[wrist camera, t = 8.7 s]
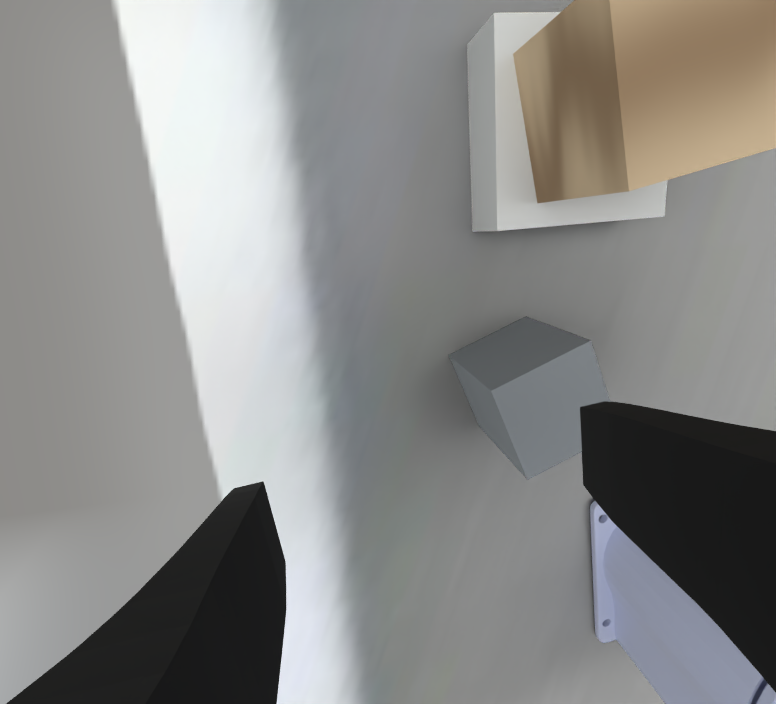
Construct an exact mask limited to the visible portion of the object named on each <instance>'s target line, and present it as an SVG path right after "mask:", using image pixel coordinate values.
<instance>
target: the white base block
mask: <svg viewBox="0 0 776 704" xmlns="http://www.w3.org/2000/svg"><path fill="white" fill-rule="evenodd" d="M559 13H561V12H519V13H493V15H492V16H491V17H490V18H489V19H488V21H487V22H486V23H485V24H484V25H483V26H482V28H481V29H480V30H479V31H478V32H477V34H476V35H475V36H474V37H473V38H472V40H471V41H470V42H469V43H468V44H467V64H468V99H469V133H470V167H471V201H472V232H478V231H503V230H515V229H526V228H538V227H549V226H561V225H572V224H584V223H595V222H607V221H618V220H630V219H641V218H653V217H664V216H665V205H666V193H667V180H666V181H662V182H659V183H655V184H652V185H649V186H645V187H642V188H638V189H635V190H632V191H627V192H620V193H612V194H605V195H597V196H589V197H582V198H574V199H567V200H559V201H551V202H544V203H537V198H536V192H535V186H534V180H533V173H532V167H531V161H530V155H529V149H528V143H527V137H526V131H525V124H524V118H523V112H522V106H521V100H520V94H519V88H518V82H517V75H516V69H515V63H514V57H513V54H514V53H515V52H516V51H517V50H518V49H519V48H520V47H522V46H523V45H524V44H525V43H526V42H527V41H529V40H530V39H531V38H532V37H533V36H534V35H535V34H537V33H538V32H539V31H540V30H541V29H542V28H543V27H545V26H546V25H547V24H548V23H549V22H550V21H551V20H553V19H554V18H555V17H556V16H557V15H558V14H559Z"/></svg>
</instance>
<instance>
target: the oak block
mask: <svg viewBox="0 0 776 704" xmlns="http://www.w3.org/2000/svg"><path fill="white" fill-rule="evenodd" d="M513 57H514V63H515V69H516V75H517V82H518V88H519V94H520V100H521V106H522V112H523V118H524V124H525V131H526V137H527V143H528V149H529V155H530V161H531V167H532V173H533V180H534V186H535V192H536V198H537V203H544V202H551V201H559V200H567V199H574V198H582V197H589V196H597V195H605V194H612V193H620V192H627V191H632V190H635V189H638V188H642V187H645V186H649V185H652V184H655V183H659V182H662V181H666V180H669V179H672V178H676V177H679V176H682V175H686V174H689V173H693V172H696V171H699V170H703V169H706V168H710V167H713V166H716V165H720V164H723V163H726V162H730V161H733V160H737V159H740V158H743V157H747V156H750V155H754V154H757V153H760V152H764V151H767V150H770V149H774V148H776V0H574V1H573V2H572V3H571V4H570V5H569V6H567V7H566V8H565V9H564V10H563V11H562V12H561V13H559V14H558V15H557V16H556V17H555V18H554V19H553V20H551V21H550V22H549V23H548V24H547V25H546V26H545V27H543V28H542V29H541V30H540V31H539V32H538V33H537V34H535V35H534V36H533V37H532V38H531V39H530V40H529V41H527V42H526V43H525V44H524V45H523V46H522V47H520V48H519V49H518V50H517V51H516V52H515V53H514V54H513Z"/></svg>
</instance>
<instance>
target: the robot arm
mask: <svg viewBox="0 0 776 704" xmlns="http://www.w3.org/2000/svg"><path fill="white" fill-rule="evenodd" d="M580 421H581V443H582V464H583V485H584V486H585V488H586V489H587V490H588V492H589V493H590V494H591V496H592V497H593V498H594V499H595V501H594V502H593V503H592V504H591V506H590V520H591V543H592V567H593V590H594V614H595V634H596V637H597V638H598V640H599V641H600V642H602V643H608V642H611V641H614V640H617V641H618V642H619V644H620V645H621V646H622V648H623V649H624V650H625V652H626V653H627V654H628V655H629V657H630V658H631V659H632V661H633V662H634V663H635V665H636V666H637V667H638V669H639V670H640V671H641V672H642V674H643V675H644V676H645V678H646V679H647V680H648V682H649V683H650V684H651V686H652V687H653V688H654V689H655V691H656V692H657V693H658V695H659V696H660V697H661V699H662V700H663V701H664V702H665V704H776V431H770V430H764V429H758V428H752V427H746V426H740V425H735V424H729V423H724V422H719V421H713V420H708V419H703V418H698V417H693V416H688V415H683V414H678V413H673V412H668V411H663V410H658V409H653V408H648V407H643V406H637V405H632V404H625V403H618V402H607V401H603V402H599V403H595V404H591V405H586V406H582V407H580ZM601 515H602V517H601V518H599V517H600V516H601ZM285 617H286V565H285V559H284V555H283V551H282V548H281V544H280V540H279V537H278V533H277V529H276V526H275V522H274V518H273V515H272V511H271V507H270V504H269V500H268V496H267V493H266V489H265V485H264V482H259V483H255V484H251V485H246V486H242V487H238V488H234V489H233V490H232V491H231V492H230V493H229V494H228V495H227V496H226V497H225V498H224V499H223V500H222V502H221V503H220V504H219V505H218V506H217V507H216V509H215V510H214V511H213V512H212V513H211V514H210V516H208V518H207V519H206V520H205V521H204V522H203V524H201V526H200V527H199V528H198V529H197V530H196V531H195V532H194V533H193V535H192V536H191V537H190V538H189V539H188V540H187V541H186V543H185V544H184V545H183V546H182V547H181V548H180V549H179V551H177V552H176V553H175V555H174V556H173V557H172V558H171V559H170V560H169V561H168V562H167V563H166V564H165V565H164V566H163V567H162V568H161V569H160V570H159V571H158V572H157V573H156V574H155V575H154V576H153V577H152V578H151V579H150V580H149V581H148V582H147V583H146V584H145V586H143V587H142V588H141V590H140V591H139V592H138V593H137V594H136V595H135V596H133V597H132V598H131V599H130V600H129V601H128V602H127V603H126V604H125V605H124V606H123V607H122V608H121V609H120V610H119V611H118V612H117V613H116V614H114V616H112V617H111V618H110V619H109V620H108V621H107V622H105V623H104V624H103V625H102V626H101V627H100V628H99V629H98V630H96V631H95V632H94V633H93V634H92V635H91V636H90V637H89V638H87V639H86V640H85V641H84V642H83V643H82V644H81V645H79V646H78V647H77V648H76V649H75V650H73V651H72V652H71V653H70V654H69V655H67V657H65V658H64V659H63V660H61V661H60V662H59V663H57V664H56V665H55V666H54V667H52V668H51V669H50V670H49V671H47V672H46V673H45V674H43V675H42V676H41V677H40V678H38V679H37V680H36V681H35V682H33V683H32V684H31V685H29V686H28V687H27V688H26V689H24V690H23V691H22V692H21V693H19V694H18V695H17V696H16V697H14V698H13V699H12V700H10V701H9V702H8V703H7V704H276V702H277V693H278V684H279V674H280V665H281V656H282V646H283V637H284V627H285Z"/></svg>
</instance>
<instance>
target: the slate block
mask: <svg viewBox="0 0 776 704" xmlns="http://www.w3.org/2000/svg"><path fill="white" fill-rule="evenodd" d="M449 357H450V360H451V362H452V364H453V367H454V369H455V371H456V374H457V376H458V378H459V381H460V383H461V385H462V388H463V390H464V392H465V395H466V397H467V399H468V402H469V404H470V406H471V408H472V411H473V413H474V415H475V418H476V420H477V422H478V425H479V427H480V428H481V429H482V430H483V431H484V432H485V433H486V434H487V436H488V437H489V438H490V439H491V440H492V441H493V442H494V443H495V444H496V445H497V447H498V448H499V449H500V450H501V451H502V452H503V453H504V454H505V455H506V457H507V458H508V459H509V460H510V461H511V462H512V463H513V464H514V465H515V467H516V468H517V469H518V470H519V471H520V472H521V473H522V474H523V475H524V476H525V478H526V479H527V480H528V479H530V478H532V477H534V476H536V475H538V474H540V473H541V472H543V471H545V470H547V469H549V468H551V467H553V466H555V465H557V464H559V463H561V462H563V461H565V460H567V459H569V458H570V457H572V456H574V455H576V454H578V453H580V452H582V443H581V421H580V407H582V406H586V405H591V404H595V403H599V402H603V401H607V402H610V399H609V396H608V392H607V389H606V386H605V383H604V380H603V377H602V374H601V370H600V367H599V364H598V361H597V358H596V355H595V352H594V348H593V345H592V342H591V340H588V339H586V338H583V337H580V336H577V335H575V334H572V333H569V332H567V331H564V330H561V329H558V328H556V327H553V326H550V325H548V324H545V323H542V322H539V321H537V320H534V319H531V318H528V317H524V318H522V319H520V320H518V321H516V322H514V323H512V324H510V325H508V326H506V327H504V328H502V329H500V330H498V331H496V332H494V333H492V334H490V335H488V336H486V337H484V338H482V339H480V340H478V341H476V342H474V343H472V344H470V345H468V346H466V347H464V348H462V349H460V350H458V351H456V352H454V353H452V354H450V355H449Z"/></svg>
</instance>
